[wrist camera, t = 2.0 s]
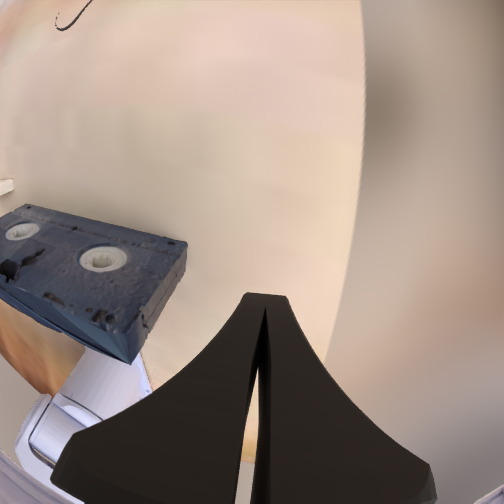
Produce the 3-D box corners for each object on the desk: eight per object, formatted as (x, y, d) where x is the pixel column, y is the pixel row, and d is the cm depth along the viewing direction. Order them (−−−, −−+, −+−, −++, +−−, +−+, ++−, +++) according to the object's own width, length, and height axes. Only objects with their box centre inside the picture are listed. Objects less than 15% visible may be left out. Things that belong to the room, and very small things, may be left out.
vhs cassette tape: (28, 225, 20) (-39, 270, 11) (26, 198, 19) (-48, 238, 10) (186, 276, 21) (134, 372, 12) (191, 242, 20) (129, 334, 11)
